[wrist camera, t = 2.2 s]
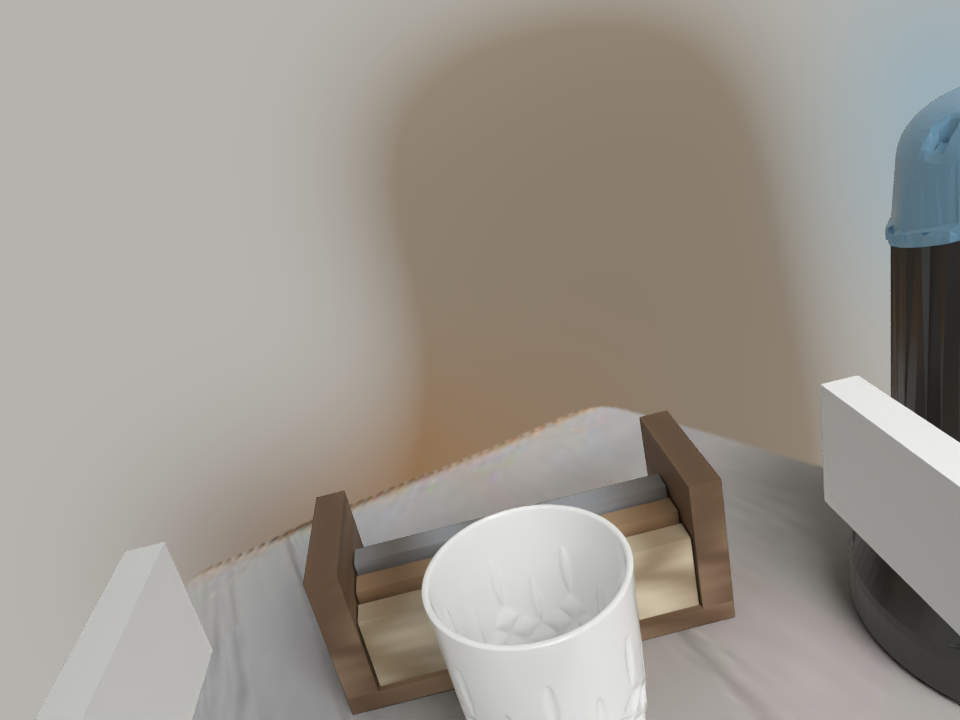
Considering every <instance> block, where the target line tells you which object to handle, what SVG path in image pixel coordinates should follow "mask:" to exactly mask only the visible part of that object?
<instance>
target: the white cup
mask: <svg viewBox="0 0 960 720" xmlns="http://www.w3.org/2000/svg"><path fill="white" fill-rule="evenodd" d="M422 601H423V605H424V608H425V611H426V614H427V616H428V619H429V622H430V624H431V627H432V630H433V632H434V635H435V638H436V640H437V643H438V646H439V648H440V651H441V654H442V657H443V659H444V662H445V665H446V667H447V670H448V673H449V675H450V678H451V681H452V683H453V686H454V689H455V692H456V694H457V697H458V700H459V702H460V705H461V708H462V711H463V714H464V716H465V718H466V720H646V717H645V713H646V709H647V697H646V689H645V679H646V678H645V668H644V658H643V648H642V639H641V629H640V620H639V611H638V602H637V592H636V582H635V572H634V562H633V555H632V551H631V548H630V545H629V543H628V541H627V539H626V538H625V536H624V535H623V534H622V532H621V531H620V530H619V529H618V528H617V527H616V526H615V525H614V524H612V523H611V522H610V521H608V520H607V519H605V518H603V517H601V516H600V515H598V514H595V513H593V512H590V511H588V510H584V509H581V508H577V507H572V506H566V505H555V504H539V505H528V506H521V507H516V508H511V509H507V510H504V511H500V512H497V513H494V514H492V515H489V516H487V517H484V518H482V519H480V520H478V521H476V522H474V523H472V524H470V525H468V526H467V527H465V528H464V529H462V530H461V531H459V532H458V533H456V534H455V535H454V536H453V537H451V538H450V539H449V540H448V541H447V542H446V543H445V544H444V545H443V546H442V547H441V548H440V549H439V550H438V551H437V553H436V554H435V555H434V557H433V558H432V560H431V561H430V563H429V565H428V567H427V569H426V572H425V574H424V577H423V582H422Z"/></svg>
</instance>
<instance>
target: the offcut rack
mask: <svg viewBox="0 0 960 720" xmlns="http://www.w3.org/2000/svg"><path fill="white" fill-rule="evenodd" d="M639 418H640V425H641V432H642V438H643V445H644V452H645V459H646V466H647V473H648V476H646V477H642V478H638V479H634V480H630V481H626V482H622V483H618V484H615V485H611V486H607V487H603V488H599V489H595V490H591V491H587V492H583V493H579V494H575V495H571V496H567V497H563V498H559V499H555V500H551V501H547V502H543V503H539V504H555V505H566V506H572V507H577V508H581V509H584V510H588V511H590V512H593V513H595V514H598V515H600V516H601V517H603V518H605V519H607V520H608V521H610V522H611V523H612V524H614V525H615V526H616V527H617V528H618V529H619V530H620V531H621V532H622V534H623V535H624V536H625V538H626V539H627V541H628V543H629V545H630V548H631V551H632V555H633V562H634V572H635V582H636V592H637V602H638V611H639V620H640V629H641V639H642V640H646V639H650V638H654V637H658V636H662V635H666V634H670V633H674V632H677V631H681V630H685V629H689V628H693V627H697V626H701V625H705V624H709V623H713V622H716V621H720V620H724V619H728V618H732V617H735V611H734V601H733V591H732V581H731V571H730V561H729V552H728V542H727V532H726V522H725V512H724V502H723V492H722V482H721V478H720V477H719V476H718V474H717V473H716V472H715V471H714V469H713V468H712V467H711V466H710V464H709V463H708V462H707V461H706V459H705V458H704V457H703V456H702V454H701V453H700V452H699V450H698V449H697V448H696V447H695V445H694V444H693V443H692V442H691V440H690V439H689V438H688V437H687V435H686V434H685V433H684V432H683V430H682V429H681V428H680V427H679V425H678V424H677V423H676V422H675V420H674V419H673V418H672V416H671V415H670V414H669V413H668V411H663V412H659V413H655V414H651V415H647V416H643V417H639ZM539 504H535V505H539ZM483 518H484V517H483ZM480 519H482V518H479V519H475V520H471V521H467V522H463V523H459V524H455V525H451V526H447V527H443V528H439V529H435V530H431V531H427V532H423V533H419V534H415V535H411V536H407V537H403V538H399V539H395V540H391V541H387V542H383V543H379V544H375V545H371V546H367V547H363V544H362V541H361V538H360V535H359V532H358V529H357V526H356V523H355V520H354V517H353V515H352V512H351V509H350V506H349V503H348V500H347V497H346V494H345V491H341V492H337V493H333V494H329V495H325V496H321V497H317V498H316V504H315V510H314V517H313V523H312V529H311V536H310V542H309V549H308V555H307V562H306V568H305V574H304V581H303V586H304V588H305V591H306V593H307V596H308V599H309V601H310V604H311V606H312V609H313V612H314V614H315V617H316V619H317V622H318V624H319V627H320V630H321V632H322V635H323V637H324V640H325V643H326V645H327V648H328V650H329V653H330V656H331V658H332V661H333V663H334V666H335V669H336V671H337V674H338V676H339V679H340V682H341V684H342V687H343V689H344V692H345V695H346V697H347V700H348V702H349V705H350V707H351V710H352V713H353V715H354V714H358V713H362V712H366V711H370V710H373V709H377V708H381V707H385V706H389V705H393V704H397V703H401V702H405V701H409V700H412V699H416V698H420V697H424V696H428V695H432V694H436V693H440V692H444V691H447V690H451V689H454V686H453V683H452V681H451V678H450V675H449V673H448V670H447V667H446V665H445V662H444V659H443V657H442V654H441V651H440V648H439V646H438V643H437V640H436V638H435V635H434V632H433V630H432V627H431V624H430V622H429V619H428V616H427V614H426V611H425V608H424V605H423V601H422V582H423V577H424V574H425V572H426V569H427V567H428V565H429V563H430V561H431V560H432V558H433V557H434V555H435V554H436V553H437V551H438V550H439V549H440V548H441V547H442V546H443V545H444V544H445V543H446V542H447V541H448V540H449V539H450V538H451V537H453V536H454V535H455V534H456V533H458V532H459V531H461V530H462V529H464V528H465V527H467V526H468V525H470V524H472V523H474V522H476V521H478V520H480Z"/></svg>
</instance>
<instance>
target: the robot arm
mask: <svg viewBox="0 0 960 720" xmlns="http://www.w3.org/2000/svg"><path fill="white" fill-rule="evenodd" d="M885 234H886V239H887V240H888V242H889V244H890V245H891V397H890V396H888V395H887V394H885V393H884V392H882V391H881V390H879V389H878V388H876V387H875V386H873V385H872V384H870V383H869V382H867V381H866V380H864V379H863V378H861V377H860V376H858V375H857V376H853V377H849V378H845V379H841V380H836V381H832V382H828V383H824V384H821V411H822V440H823V441H822V443H823V475H824V501H825V502H826V503H827V504H828V505H829V506H830V507H831V508H832V509H833V510H834V511H835V512H836V513H837V514H838V515H839V516H840V517H841V518H842V519H843V520H844V521H845V522H846V523H847V524H848V525H849V526H850V527H851V528H852V531H851V536H850V541H849V581H850V590H851V595H852V598H853V602H854V605H855V607H856V609H857V612H858V614H859V616H860V617H861V619H862V621H863V623H864V624H865V626H866V627H867V629H868V630H869V632H870V633H871V634H872V635H873V637H874V638H875V639H876V641H877V642H878V643H879V644H880V645H881V646H882V647H883V648H884V649H885V650H886V651H887V652H888V653H889V654H890V655H891V656H892V657H893V658H894V659H895V660H896V661H897V662H899V663H900V664H901V665H902V666H903V667H904V668H906V669H907V670H908V671H910V672H911V673H912V674H914V675H915V676H916V677H918V678H919V679H921V680H922V681H924V682H925V683H926V684H928V685H929V686H931V687H933V688H934V689H936V690H938V691H939V692H941V693H943V694H944V695H946V696H948V697H950V698H952V699H953V700H955V701H957V702H959V703H960V87H958V88H956V89H954V90H952V91H950V92H948V93H946V94H944V95H942V96H940V97H939V98H937V99H935V100H934V101H932V102H931V103H929V104H928V105H927V106H926V107H924V108H923V109H922V110H921V111H920V112H918V114H916V116H915V117H914V118H913V119H912V120H911V121H910V122H909V124H908V125H907V126H906V128H905V130H904V131H903V133H902V135H901V138H900V140H899V143H898V146H897V151H896V159H895V172H894V187H893V199H892V213H891V218H890V219H889V221H888V224H887V226H886V233H885ZM212 652H213V649H212V647H211V645H210V643H209V640H208V638H207V636H206V634H205V631H204V629H203V627H202V625H201V622H200V620H199V618H198V616H197V613H196V611H195V609H194V607H193V604H192V602H191V600H190V598H189V595H188V593H187V591H186V589H185V586H184V584H183V582H182V580H181V577H180V575H179V573H178V571H177V568H176V566H175V564H174V562H173V559H172V557H171V555H170V553H169V550H168V548H167V546H166V544H165V542H162V543H158V544H153V545H149V546H145V547H141V548H137V549H133V550H128V551H125V553H124V554H123V556H122V558H121V560H120V562H119V564H118V566H117V568H116V569H115V571H114V573H113V575H112V577H111V579H110V581H109V583H108V584H107V586H106V588H105V590H104V592H103V594H102V595H101V597H100V599H99V601H98V603H97V605H96V607H95V609H94V610H93V612H92V614H91V616H90V618H89V620H88V621H87V624H86V625H85V627H84V629H83V631H82V633H81V634H80V636H79V638H78V640H77V642H76V644H75V646H74V647H73V650H72V651H71V653H70V655H69V657H68V659H67V661H66V662H65V665H64V666H63V668H62V670H61V672H60V674H59V675H58V677H57V679H56V681H55V683H54V685H53V687H52V688H51V690H50V692H49V694H48V696H47V698H46V700H45V701H44V703H43V705H42V707H41V709H40V711H39V713H38V714H37V716H36V718H35V720H192V719H193V716H194V712H195V709H196V706H197V702H198V699H199V696H200V692H201V689H202V686H203V682H204V679H205V675H206V672H207V669H208V665H209V662H210V659H211V655H212Z"/></svg>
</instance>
